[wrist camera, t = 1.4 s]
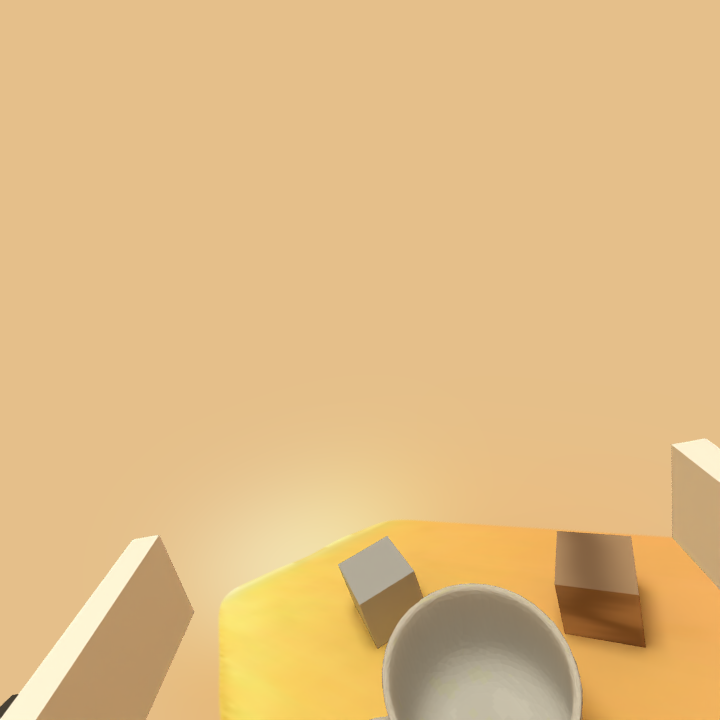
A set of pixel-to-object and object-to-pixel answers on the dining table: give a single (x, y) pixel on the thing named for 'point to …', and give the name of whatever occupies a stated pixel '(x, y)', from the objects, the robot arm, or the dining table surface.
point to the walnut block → (598, 587)
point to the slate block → (381, 587)
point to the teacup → (479, 660)
